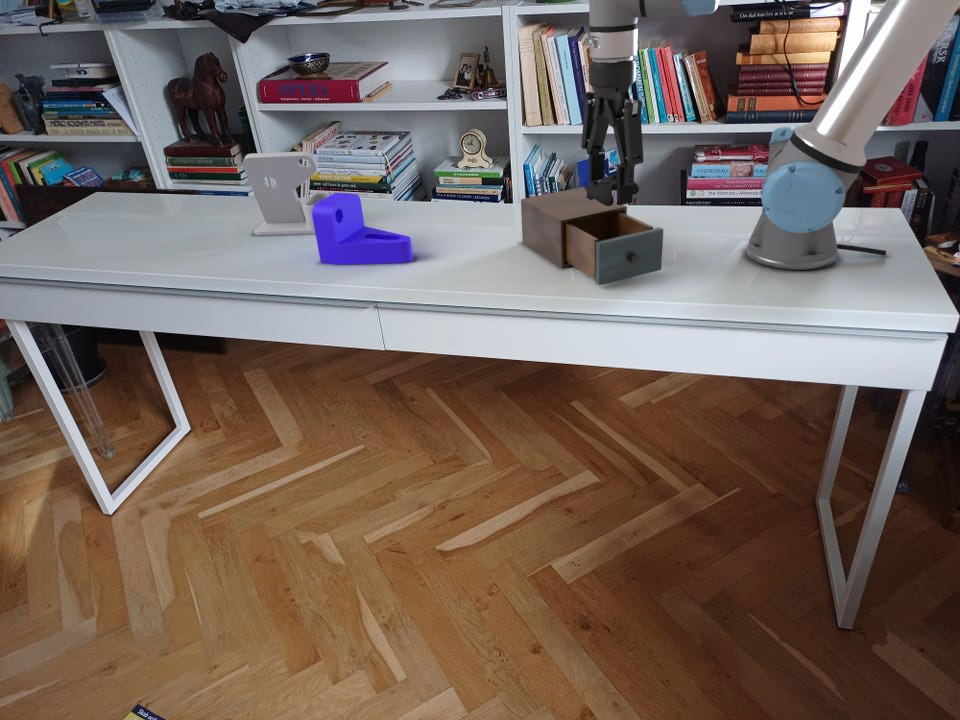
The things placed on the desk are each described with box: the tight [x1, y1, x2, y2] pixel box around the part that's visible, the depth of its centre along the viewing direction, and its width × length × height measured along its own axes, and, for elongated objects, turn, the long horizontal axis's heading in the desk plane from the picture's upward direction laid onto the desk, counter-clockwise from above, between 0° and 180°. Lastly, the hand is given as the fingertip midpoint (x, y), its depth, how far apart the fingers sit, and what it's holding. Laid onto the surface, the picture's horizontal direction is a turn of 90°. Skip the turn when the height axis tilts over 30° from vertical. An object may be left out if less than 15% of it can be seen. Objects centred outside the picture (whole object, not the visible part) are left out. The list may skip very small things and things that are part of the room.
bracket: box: [312, 192, 414, 266], centre depth 148 cm, size 18×11×12 cm, turn 68°
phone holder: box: [242, 150, 331, 236], centre depth 166 cm, size 17×10×18 cm, turn 84°
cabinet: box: [520, 186, 628, 269], centre depth 145 cm, size 16×14×9 cm
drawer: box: [563, 211, 664, 286], centre depth 134 cm, size 16×13×8 cm
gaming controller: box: [585, 174, 640, 206], centre depth 130 cm, size 10×5×6 cm
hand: (610, 197), depth 130 cm, fingers closed on gaming controller, 8 cm apart
